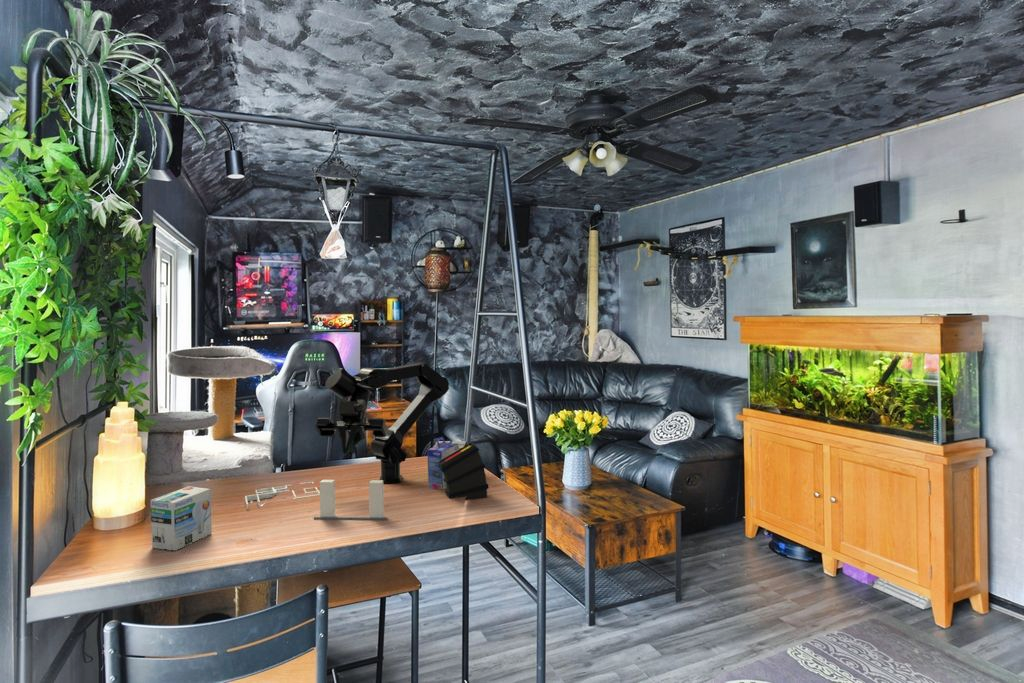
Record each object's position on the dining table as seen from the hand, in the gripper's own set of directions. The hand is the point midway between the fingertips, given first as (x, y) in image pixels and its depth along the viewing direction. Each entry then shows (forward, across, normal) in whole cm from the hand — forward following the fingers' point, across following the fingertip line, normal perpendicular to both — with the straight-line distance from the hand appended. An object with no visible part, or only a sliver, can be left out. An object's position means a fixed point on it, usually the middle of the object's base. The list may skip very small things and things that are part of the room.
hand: (344, 454), depth 153 cm
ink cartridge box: (-1, +24, +20) cm, 32 cm away
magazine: (+6, +31, +13) cm, 34 cm away
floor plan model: (+9, -17, +11) cm, 23 cm away
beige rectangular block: (+18, +12, 0) cm, 22 cm away
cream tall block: (+18, 0, 0) cm, 18 cm away
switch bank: (+15, +6, +4) cm, 17 cm away
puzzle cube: (-9, +24, +28) cm, 38 cm away
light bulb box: (+28, -29, -8) cm, 41 cm away
